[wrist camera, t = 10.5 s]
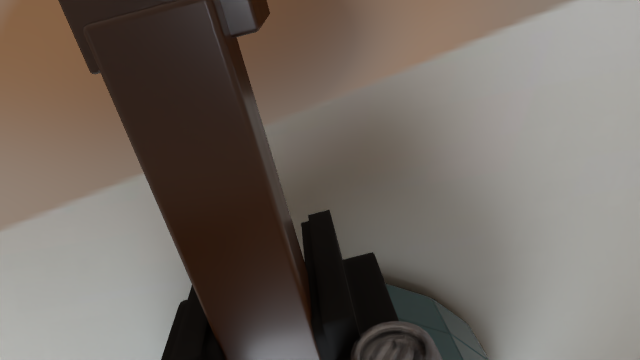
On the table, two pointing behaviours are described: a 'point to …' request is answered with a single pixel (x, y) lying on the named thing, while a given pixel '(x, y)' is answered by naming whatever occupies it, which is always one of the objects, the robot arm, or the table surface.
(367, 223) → the table surface
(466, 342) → the bowl
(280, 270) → the ladle
